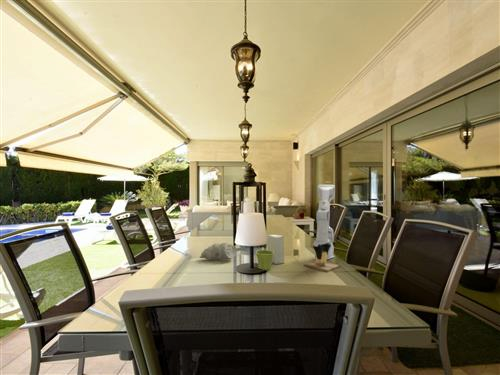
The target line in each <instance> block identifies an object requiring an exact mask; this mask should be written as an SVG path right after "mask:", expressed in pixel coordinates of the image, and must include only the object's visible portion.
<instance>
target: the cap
mask: <svg viewBox="0 0 500 375" xmlns="http://www.w3.org/2000/svg"><path fill="white" fill-rule="evenodd" d="M315 260H316V261H317V262H322V263H324V262H327V263H328V261H327V260H328V259H327V252H325V251H322V257H321V259H317V257H316V256H315Z"/></svg>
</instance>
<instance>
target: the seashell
mask: <svg viewBox="0 0 500 375" xmlns="http://www.w3.org/2000/svg"><path fill="white" fill-rule="evenodd" d="M236 253H237V252H236V249H235V247H234V245H233V244H232V243H229V242H222V243H213V244H212V245H211V246H208V247H207V248H204V249H203V251H202V252H201V254H200V256H199V258H200V259H204V260H206V261H208V262H209V261H215V260H217V261H223V260H224V261H225V260H227V261H228V260H230V261H231V260H232V259H234V258H235V257H236V256H237V254H236Z"/></svg>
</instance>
